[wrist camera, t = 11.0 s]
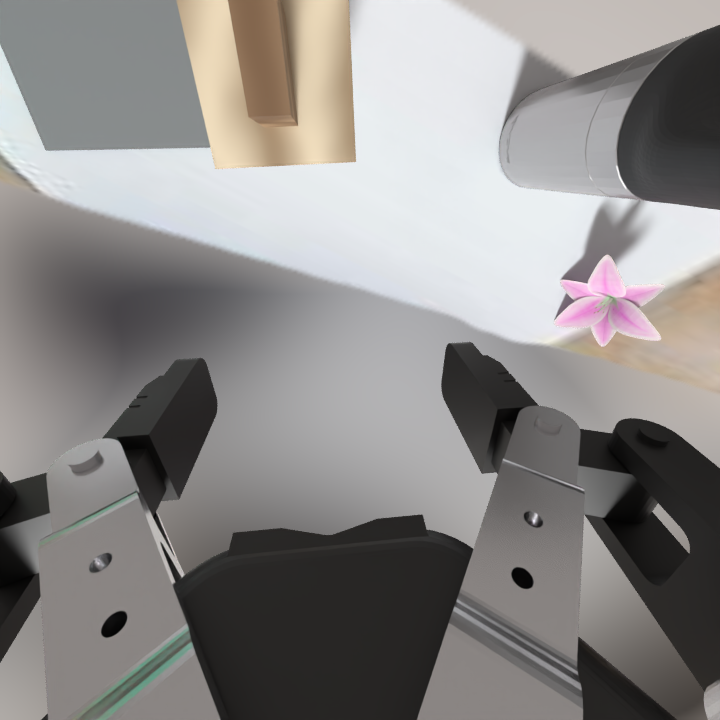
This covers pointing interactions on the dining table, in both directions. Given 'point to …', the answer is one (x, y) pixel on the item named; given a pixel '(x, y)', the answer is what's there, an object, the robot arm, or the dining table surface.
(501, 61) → the dining table surface
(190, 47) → the lid
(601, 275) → the lily
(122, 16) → the mat
